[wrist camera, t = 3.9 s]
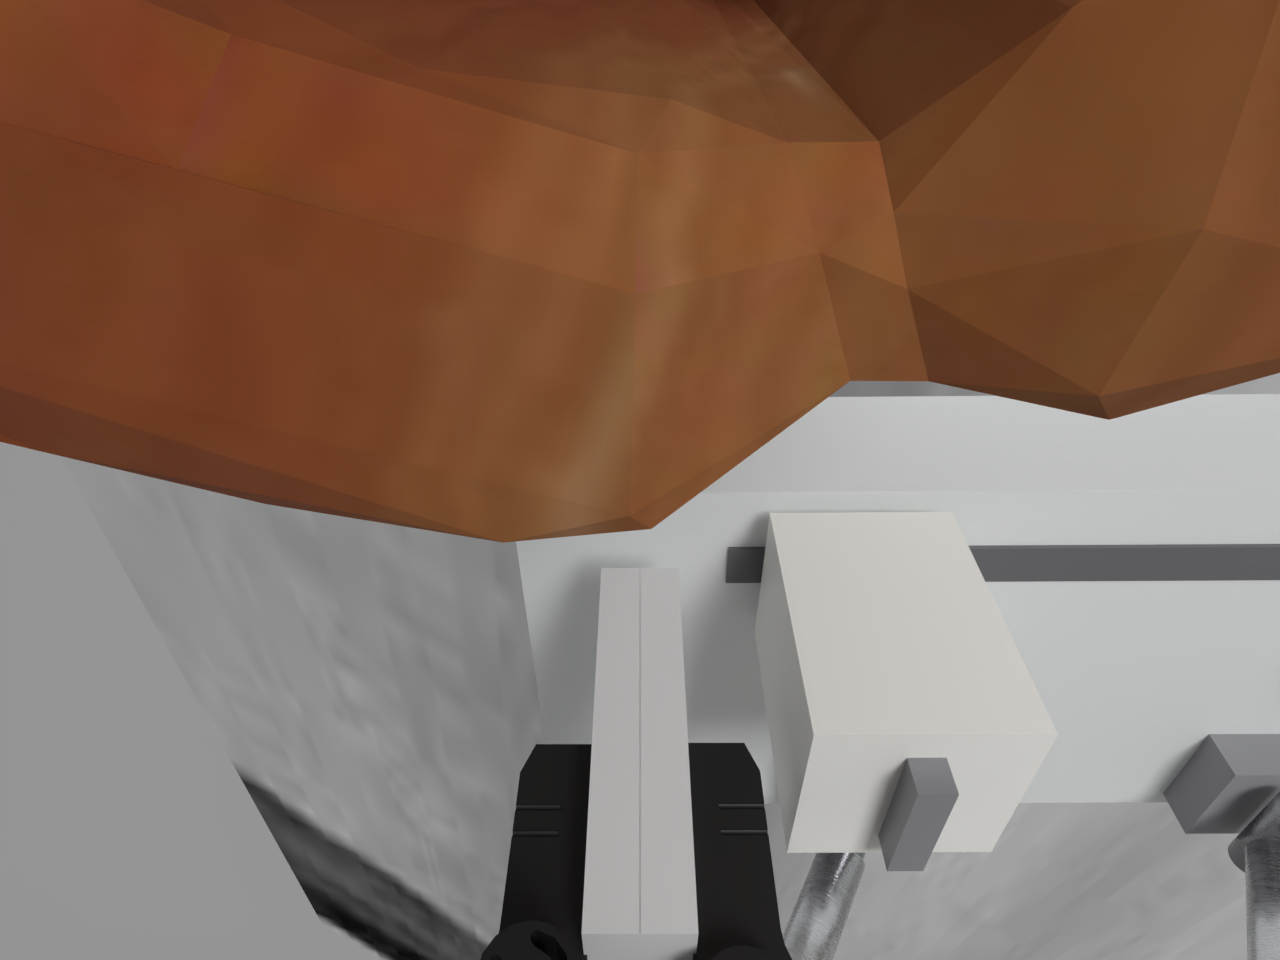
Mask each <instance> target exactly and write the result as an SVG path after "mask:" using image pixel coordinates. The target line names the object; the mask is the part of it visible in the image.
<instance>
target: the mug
mask: <svg viewBox="0 0 1280 960" xmlns="http://www.w3.org/2000/svg"><path fill="white" fill-rule="evenodd" d="M1277 373H1280V0H0V442H3V443H7V444H11V445H16V446H20V447H24V448H28V449H33V450H37V451H41V452H46V453H50V454H54V455H58V456H63V457H67V458H71V459H75V460H80V461H84V462H88V463H93V464H97V465H101V466H105V467H110V468H114V469H118V470H122V471H127V472H131V473H135V474H140V475H144V476H148V477H152V478H157V479H161V480H165V481H169V482H174V483H178V484H182V485H187V486H191V487H195V488H199V489H204V490H208V491H212V492H216V493H221V494H225V495H229V496H234V497H238V498H242V499H246V500H251V501H255V502H259V503H263V504H269V505H275V506H281V507H287V508H293V509H299V510H306V511H312V512H318V513H324V514H330V515H336V516H343V517H349V518H355V519H361V520H367V521H373V522H380V523H386V524H392V525H398V526H404V527H410V528H417V529H423V530H429V531H435V532H441V533H447V534H454V535H460V536H466V537H472V538H478V539H484V540H491V541H497V542H503V543H505V542H515V541H526V540H537V539H548V538H559V537H570V536H581V535H591V534H602V533H613V532H624V531H635V530H646V529H652V528H653V527H655V526H656V525H657V524H659V523H660V522H662V521H663V520H664V519H666V518H667V517H668V516H670V515H671V514H672V513H674V512H675V511H676V510H678V509H679V508H680V507H682V506H683V505H684V504H686V503H687V502H688V501H690V500H691V499H692V498H694V497H695V496H696V495H698V494H699V493H700V492H702V491H703V490H704V489H706V488H707V487H709V486H710V485H711V484H713V483H714V482H715V481H717V480H718V479H719V478H721V477H722V476H723V475H725V474H726V473H727V472H729V471H730V470H731V469H733V468H734V467H735V466H737V465H738V464H739V463H741V462H742V461H743V460H745V459H746V458H747V457H749V456H750V455H751V454H753V453H754V452H755V451H757V450H758V449H759V448H761V447H762V446H764V445H765V444H766V443H768V442H769V441H770V440H772V439H773V438H774V437H776V436H777V435H778V434H780V433H781V432H782V431H784V430H785V429H786V428H788V427H789V426H790V425H792V424H793V423H794V422H796V421H797V420H798V419H800V418H801V417H802V416H804V415H805V414H806V413H808V412H809V411H810V410H812V409H813V408H815V407H816V406H817V405H819V404H820V403H821V402H823V401H824V400H825V399H827V398H828V397H829V396H831V395H832V394H833V393H835V392H836V391H837V390H839V389H840V388H841V387H843V386H844V385H845V384H847V383H848V382H849V381H929V382H934V383H939V384H943V385H948V386H953V387H957V388H962V389H967V390H972V391H976V392H981V393H986V394H990V395H995V396H1000V397H1004V398H1009V399H1014V400H1018V401H1023V402H1028V403H1033V404H1037V405H1042V406H1047V407H1051V408H1056V409H1061V410H1065V411H1070V412H1075V413H1079V414H1084V415H1089V416H1093V417H1098V418H1103V419H1108V420H1111V419H1114V418H1118V417H1122V416H1125V415H1129V414H1132V413H1136V412H1140V411H1143V410H1147V409H1151V408H1154V407H1158V406H1161V405H1165V404H1169V403H1172V402H1176V401H1180V400H1183V399H1187V398H1190V397H1194V396H1198V395H1201V394H1205V393H1209V392H1212V391H1216V390H1219V389H1223V388H1227V387H1230V386H1234V385H1238V384H1241V383H1245V382H1248V381H1252V380H1256V379H1259V378H1263V377H1267V376H1270V375H1274V374H1277Z"/></svg>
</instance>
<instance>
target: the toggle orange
mask: <svg viewBox="0 0 1280 960" xmlns="http://www.w3.org/2000/svg"><path fill="white" fill-rule="evenodd" d="M864 856H865V853H816V854H815V857H814V859H813V862H812V864H811V867H810V869H809V872H808V874H807V876H806V879H805V881H804V884H803V886H802V889H801V891H800V894H799V896H798V899H797V901H796V904H795V906H794V909H793V911H792V914H791V916H790V919H789V921H788V924H787V926H786V929H785V931H784V934H783V939H784V943H785V946H786V948H787V950H788V952H789V954H790V956H791V958H792V960H833V958H834V955H835V952H836V949H837V947H838V944H839V941H840V938H841V935H842V932H843V929H844V926H845V924H846V921H847V918H848V915H849V912H850V909H851V906H852V903H853V901H854V898H855V895H856V892H857V889H858V886H859V883H860V881H861V878H862V875H863V872H864V869H865V863H864V861H863V859H864Z"/></svg>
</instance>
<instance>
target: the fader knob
mask: <svg viewBox="0 0 1280 960" xmlns="http://www.w3.org/2000/svg"><path fill="white" fill-rule="evenodd" d="M755 639H756V646H757V653H758V659H759V666H760V673H761V680H762V687H763V693H764V700H765V707H766V714H767V721H768V727H769V734H770V741H771V748H772V754H773V761H774V768H775V775H776V782H777V788H778V795H779V802H780V809H781V816H782V822H783V829H784V836H785V843H786V849H787V853H879V852H882V853H883V857H884V861H885V865H886V870H887V871H923V870H924V868H925V866H926V864H927V862H928V860H929V858H930V856H931V853H932V852H992V850H993V848H994V846H995V845H996V843H997V841H998V839H999V838H1000V836H1001V834H1002V832H1003V831H1004V829H1005V827H1006V825H1007V823H1008V822H1009V820H1010V818H1011V816H1012V815H1013V813H1014V811H1015V809H1016V808H1017V806H1018V804H1019V802H1020V801H1021V799H1022V797H1023V795H1024V794H1025V792H1026V790H1027V788H1028V787H1029V785H1030V783H1031V781H1032V780H1033V778H1034V776H1035V774H1036V773H1037V771H1038V769H1039V767H1040V765H1041V764H1042V762H1043V760H1044V758H1045V757H1046V755H1047V753H1048V751H1049V750H1050V748H1051V746H1052V744H1053V743H1054V741H1055V739H1056V737H1057V736H1058V733H1057V731H1056V729H1055V727H1054V725H1053V723H1052V721H1051V719H1050V716H1049V714H1048V712H1047V710H1046V708H1045V706H1044V704H1043V702H1042V700H1041V698H1040V695H1039V693H1038V691H1037V689H1036V687H1035V685H1034V683H1033V681H1032V679H1031V677H1030V674H1029V672H1028V670H1027V668H1026V666H1025V664H1024V662H1023V660H1022V658H1021V655H1020V653H1019V651H1018V649H1017V647H1016V645H1015V643H1014V641H1013V639H1012V637H1011V634H1010V632H1009V630H1008V628H1007V626H1006V624H1005V622H1004V620H1003V618H1002V616H1001V613H1000V611H999V609H998V607H997V605H996V603H995V601H994V599H993V597H992V595H991V592H990V590H989V588H988V586H987V584H986V582H985V580H984V578H983V576H982V574H981V571H980V569H979V567H978V565H977V563H976V561H975V559H974V557H973V555H972V552H971V550H970V548H969V546H968V544H967V542H966V540H965V538H964V536H963V534H962V531H961V529H960V527H959V525H958V523H957V521H956V519H955V517H954V515H953V513H952V512H840V513H770V516H769V524H768V531H767V539H766V547H765V555H764V563H763V570H762V578H761V586H760V594H759V602H758V609H757V617H756V625H755Z"/></svg>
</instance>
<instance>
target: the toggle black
mask: <svg viewBox="0 0 1280 960" xmlns="http://www.w3.org/2000/svg"><path fill="white" fill-rule="evenodd" d="M1228 854H1229V857H1230V859H1231V860H1232V862H1233V863H1234V864H1235V865H1236V866H1237V867H1238V868H1239V869H1240V870H1241V871H1243V872H1244V873H1245V882H1246V922H1247V960H1280V792H1279V793H1278V794H1277V795H1276V796H1275V797H1274V798H1273V799H1272V800H1271V801H1270V802H1269V803H1268V804H1267V805H1266V806H1265V807H1264V808H1263V810H1262V811H1261V812H1260V813H1259V814H1258V815H1257V816H1256V817H1255V818H1254V819H1253V820H1252V821H1251V822H1250V823H1249V824H1248V825H1247V826H1246V827H1245V828H1244V829H1243V831H1242V832H1241V833H1240V834H1239V835H1238V836H1237V837H1236V838H1235V839H1234V840H1233V841H1232V842H1231V843H1230V844H1229V846H1228Z"/></svg>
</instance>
